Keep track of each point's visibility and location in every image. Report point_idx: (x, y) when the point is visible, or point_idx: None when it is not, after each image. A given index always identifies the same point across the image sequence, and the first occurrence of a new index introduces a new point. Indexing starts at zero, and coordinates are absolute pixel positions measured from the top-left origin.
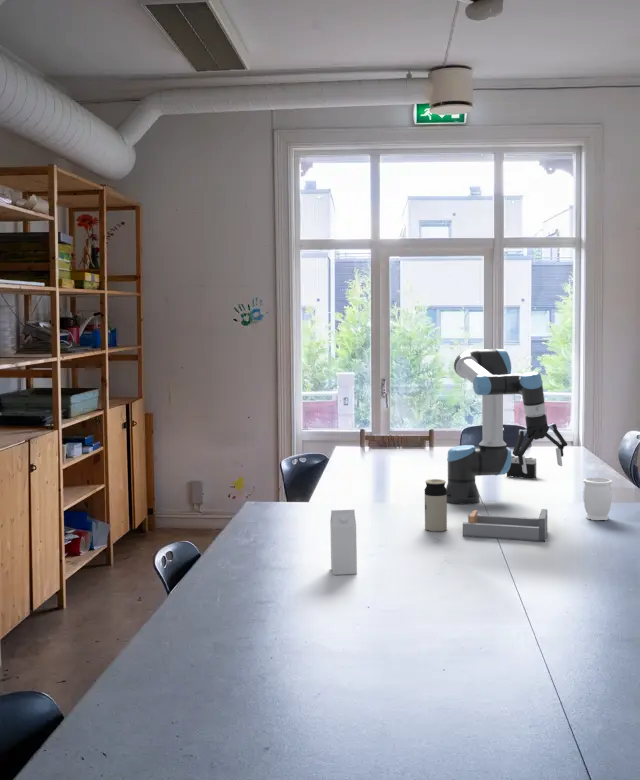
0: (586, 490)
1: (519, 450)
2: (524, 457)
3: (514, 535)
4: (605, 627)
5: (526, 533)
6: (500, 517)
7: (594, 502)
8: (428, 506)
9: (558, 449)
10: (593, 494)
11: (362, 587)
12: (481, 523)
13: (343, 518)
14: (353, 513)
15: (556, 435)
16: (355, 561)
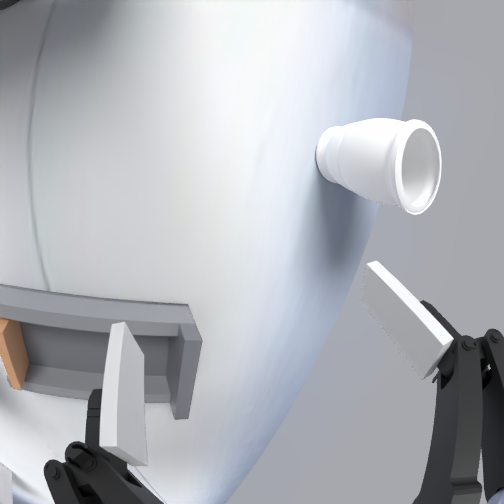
0: (371, 177)
1: (101, 495)
2: (143, 459)
3: None
4: (215, 500)
5: None
6: (63, 327)
7: (358, 194)
8: None
9: (425, 376)
10: (374, 198)
11: (37, 487)
12: (42, 385)
13: None
14: None
15: (501, 427)
16: (11, 481)
